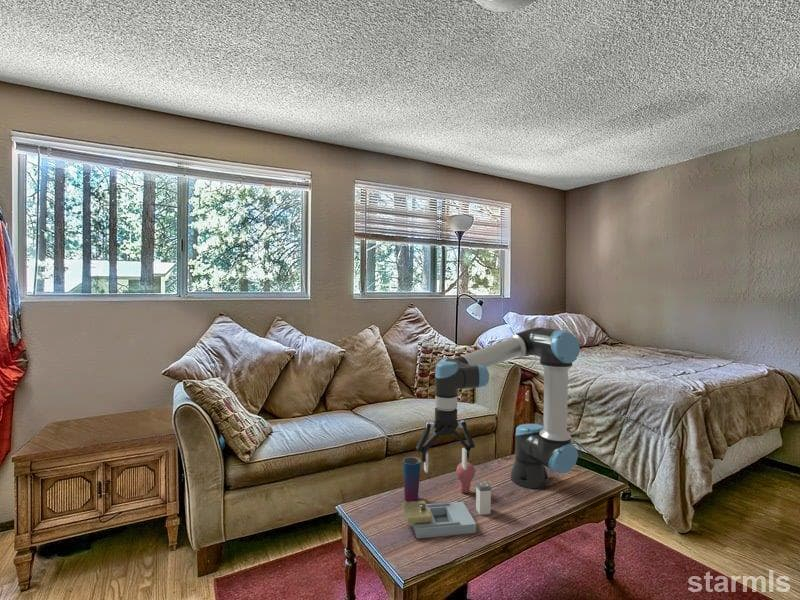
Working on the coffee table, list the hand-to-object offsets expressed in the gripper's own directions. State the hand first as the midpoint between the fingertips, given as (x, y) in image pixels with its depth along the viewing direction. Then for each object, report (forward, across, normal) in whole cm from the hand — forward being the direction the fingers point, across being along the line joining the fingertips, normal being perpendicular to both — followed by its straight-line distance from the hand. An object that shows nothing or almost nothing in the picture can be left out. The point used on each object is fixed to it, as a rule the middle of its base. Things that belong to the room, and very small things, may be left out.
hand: (445, 469), depth 141 cm
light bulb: (+19, -14, -19) cm, 30 cm away
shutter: (+15, +10, 0) cm, 18 cm away
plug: (+19, -16, -5) cm, 25 cm away
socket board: (+19, +1, 0) cm, 19 cm away
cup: (+19, +8, -17) cm, 27 cm away
